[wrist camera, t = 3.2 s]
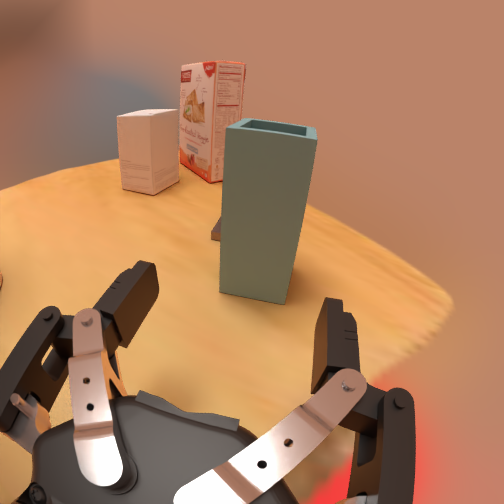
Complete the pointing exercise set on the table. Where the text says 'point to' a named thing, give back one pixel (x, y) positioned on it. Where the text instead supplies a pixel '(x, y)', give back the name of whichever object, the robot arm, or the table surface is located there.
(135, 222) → the table surface
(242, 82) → the cracker box
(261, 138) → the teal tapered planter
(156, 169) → the supplement box
